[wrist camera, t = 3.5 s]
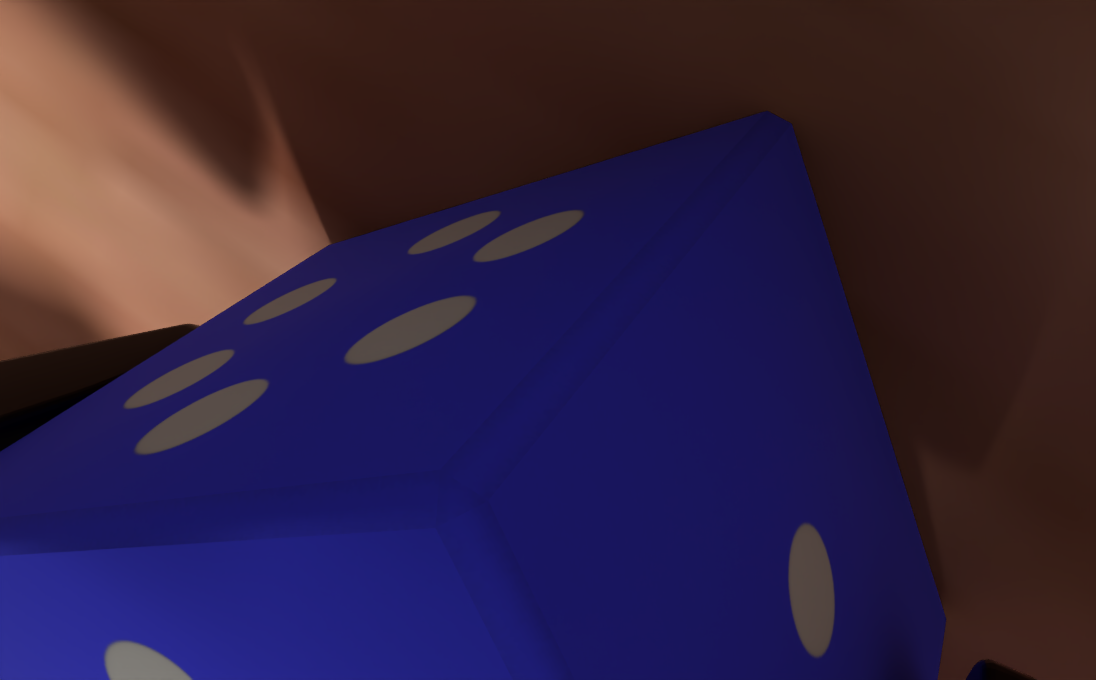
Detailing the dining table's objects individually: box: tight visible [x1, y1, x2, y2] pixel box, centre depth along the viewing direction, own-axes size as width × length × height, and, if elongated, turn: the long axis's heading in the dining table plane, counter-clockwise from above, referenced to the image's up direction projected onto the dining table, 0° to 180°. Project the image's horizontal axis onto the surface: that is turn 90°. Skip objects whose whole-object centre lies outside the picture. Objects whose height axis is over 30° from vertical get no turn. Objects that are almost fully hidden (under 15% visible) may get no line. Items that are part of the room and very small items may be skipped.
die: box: [0, 111, 946, 680], centre depth 7 cm, size 5×5×5 cm
